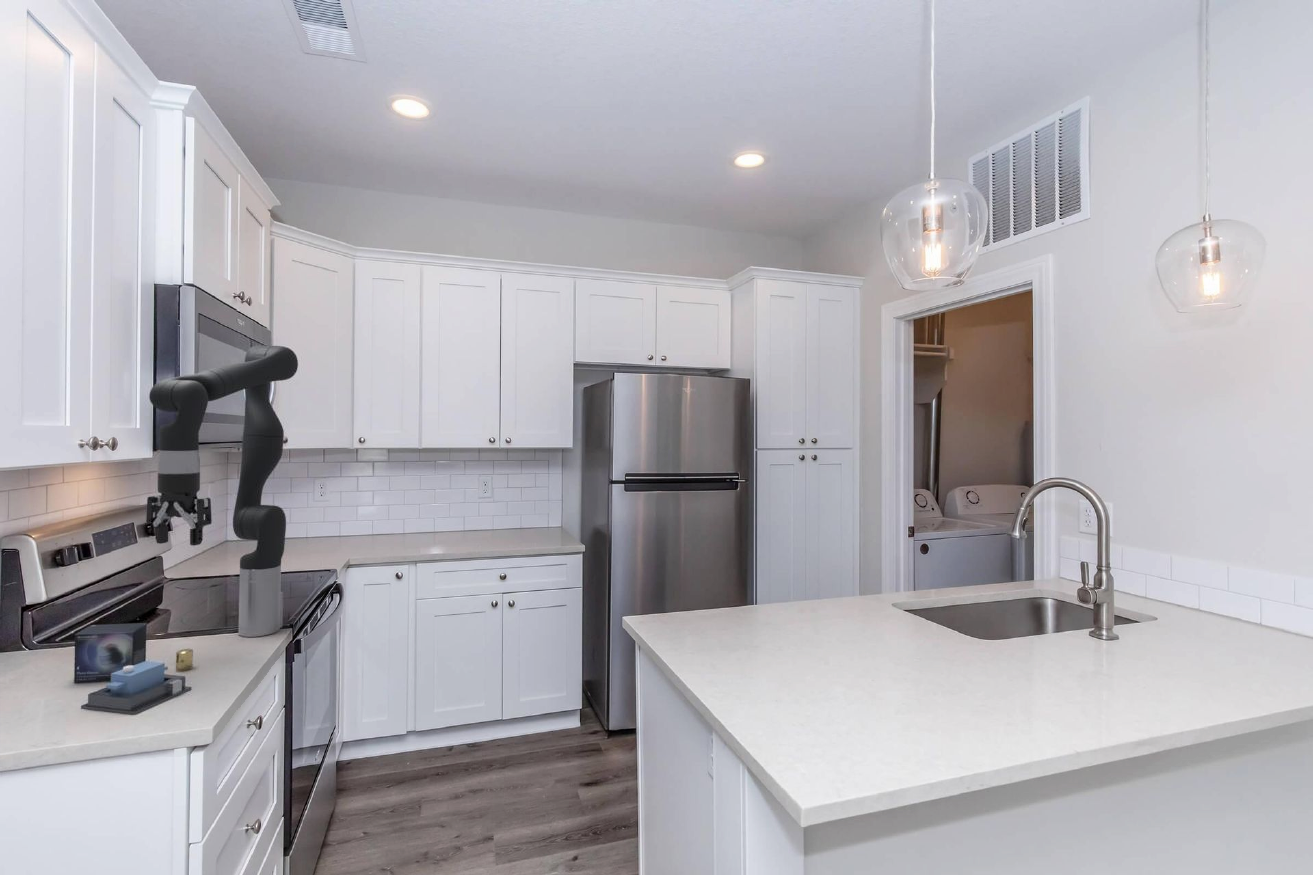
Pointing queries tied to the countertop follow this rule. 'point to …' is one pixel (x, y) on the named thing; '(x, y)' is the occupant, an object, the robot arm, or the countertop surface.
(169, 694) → the frame
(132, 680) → the servo
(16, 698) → the countertop surface
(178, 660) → the cylinder
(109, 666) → the small box
